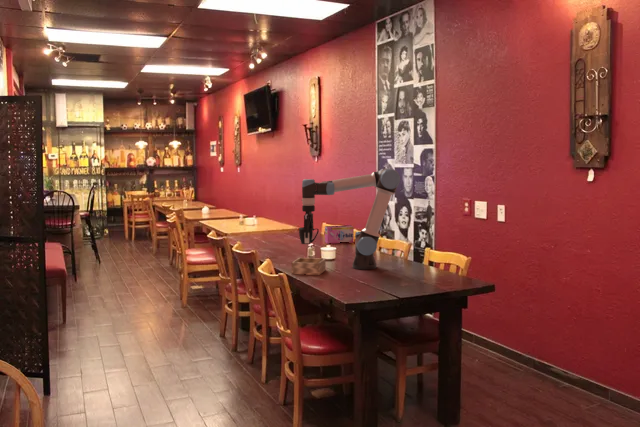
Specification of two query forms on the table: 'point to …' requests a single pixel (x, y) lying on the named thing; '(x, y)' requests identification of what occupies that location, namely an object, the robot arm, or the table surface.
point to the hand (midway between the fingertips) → (308, 242)
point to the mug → (302, 235)
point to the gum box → (339, 234)
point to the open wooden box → (308, 266)
